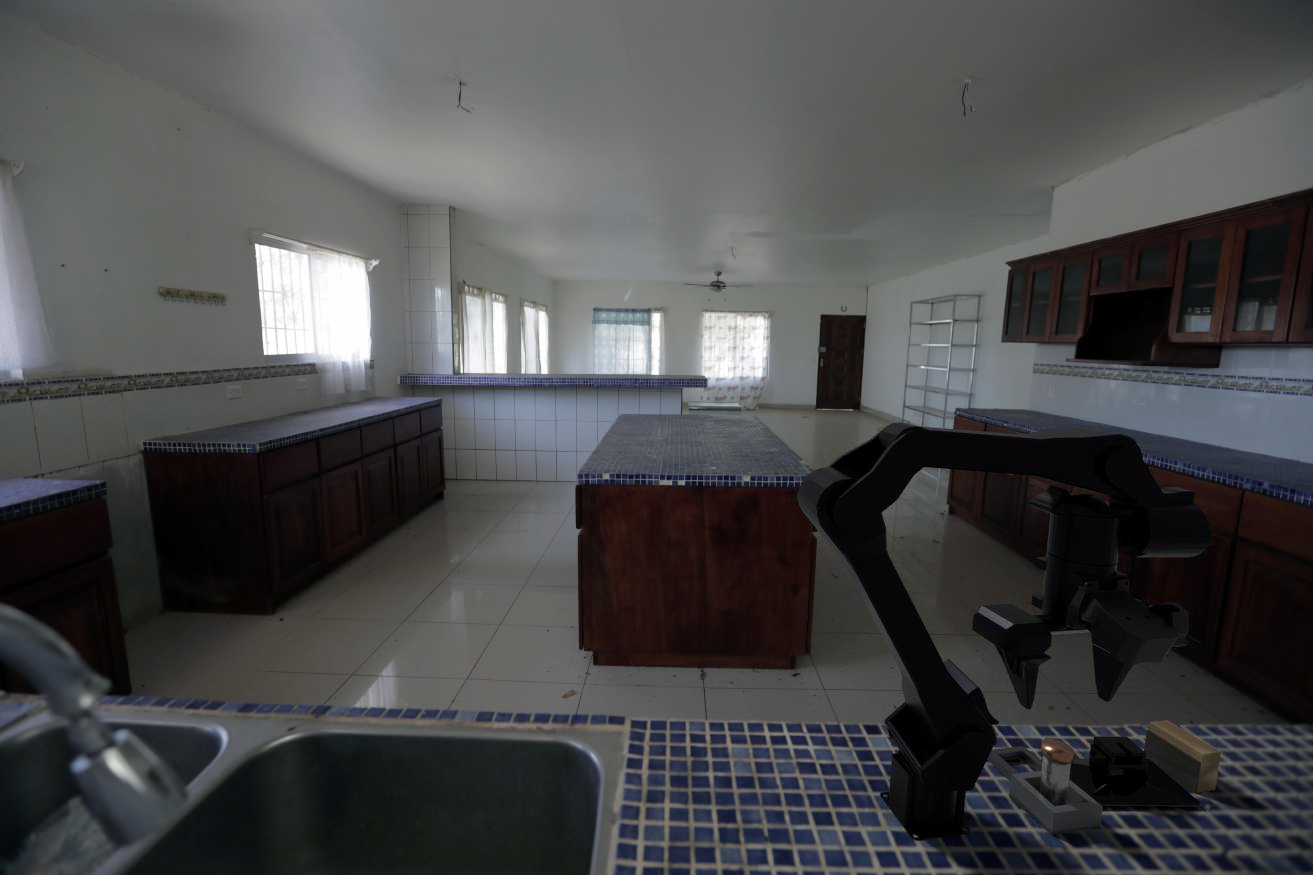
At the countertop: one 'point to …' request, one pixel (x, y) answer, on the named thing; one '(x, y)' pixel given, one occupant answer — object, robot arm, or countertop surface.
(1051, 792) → the pin
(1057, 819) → the tray
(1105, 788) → the build plate
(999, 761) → the pin socket
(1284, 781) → the countertop surface
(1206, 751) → the rail
